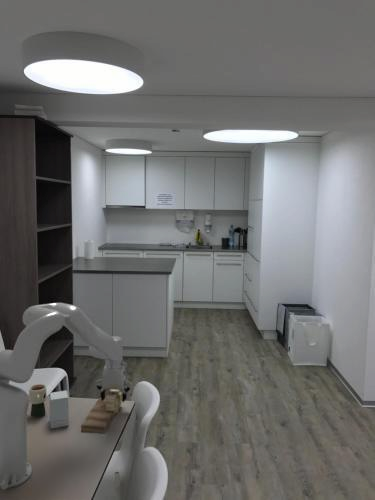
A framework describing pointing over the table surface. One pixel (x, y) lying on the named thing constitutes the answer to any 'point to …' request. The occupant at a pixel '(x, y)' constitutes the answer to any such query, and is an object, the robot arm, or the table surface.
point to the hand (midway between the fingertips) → (113, 400)
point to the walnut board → (98, 418)
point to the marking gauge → (113, 400)
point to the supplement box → (58, 409)
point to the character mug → (37, 399)
